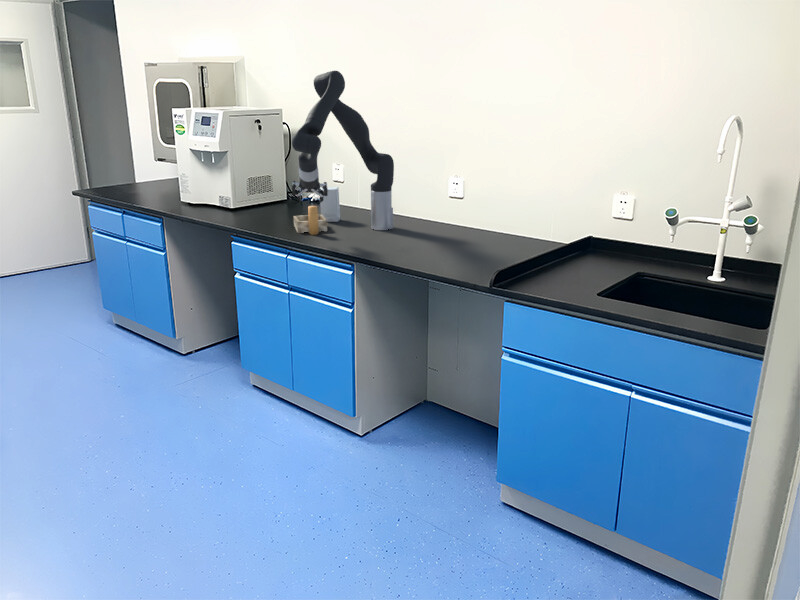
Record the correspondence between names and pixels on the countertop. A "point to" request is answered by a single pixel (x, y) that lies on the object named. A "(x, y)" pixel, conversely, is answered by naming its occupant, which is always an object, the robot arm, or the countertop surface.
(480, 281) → the countertop surface
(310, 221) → the peg
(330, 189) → the skincare box
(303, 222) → the box
